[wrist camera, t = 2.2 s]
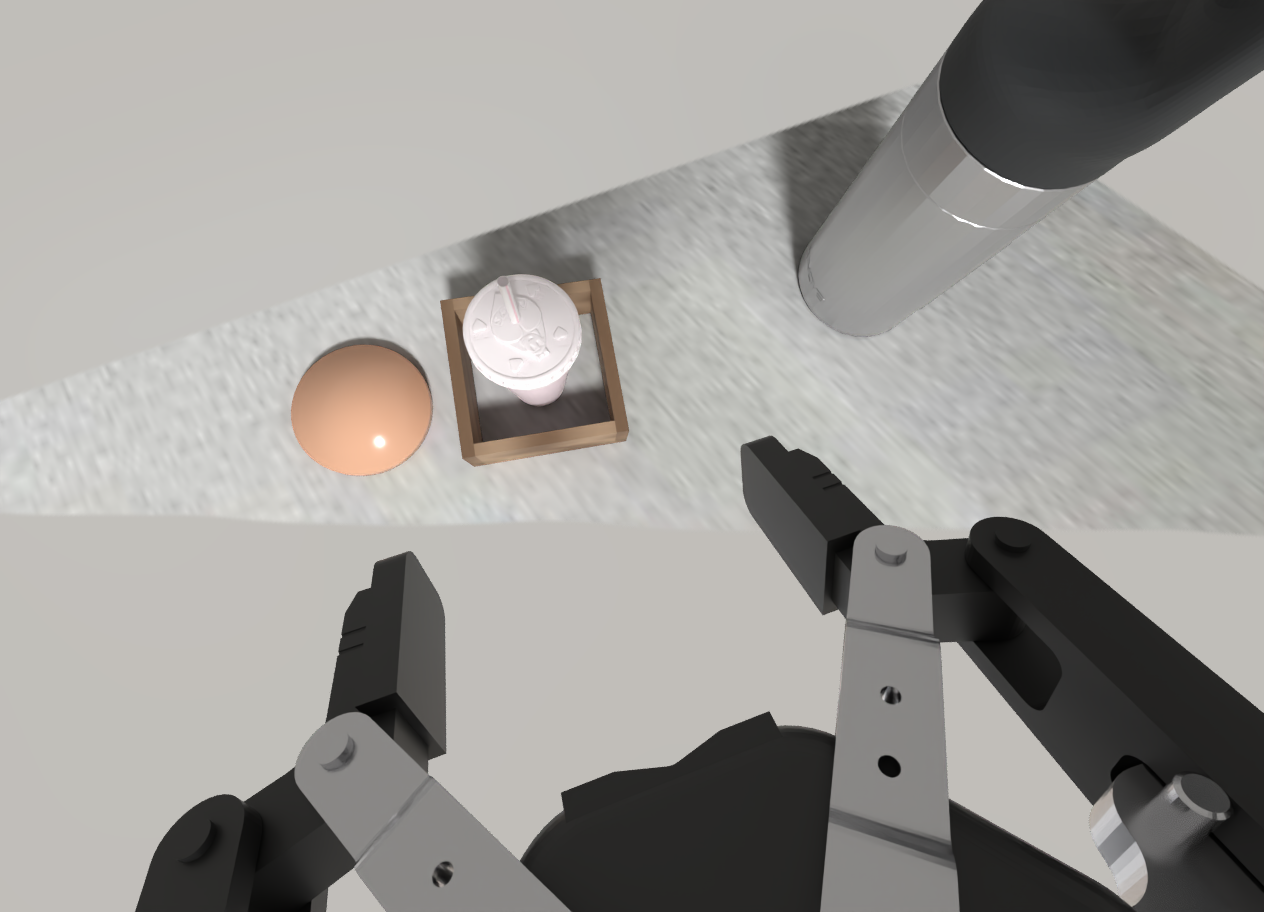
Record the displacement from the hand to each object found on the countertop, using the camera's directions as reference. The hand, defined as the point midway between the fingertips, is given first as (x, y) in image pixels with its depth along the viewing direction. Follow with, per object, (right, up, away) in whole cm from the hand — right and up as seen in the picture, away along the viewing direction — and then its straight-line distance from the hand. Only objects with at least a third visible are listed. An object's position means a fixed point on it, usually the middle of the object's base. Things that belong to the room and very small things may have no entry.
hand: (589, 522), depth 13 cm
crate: (-6, +7, +26) cm, 27 cm away
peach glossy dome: (-17, +5, +25) cm, 31 cm away
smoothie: (-6, +7, +26) cm, 28 cm away
